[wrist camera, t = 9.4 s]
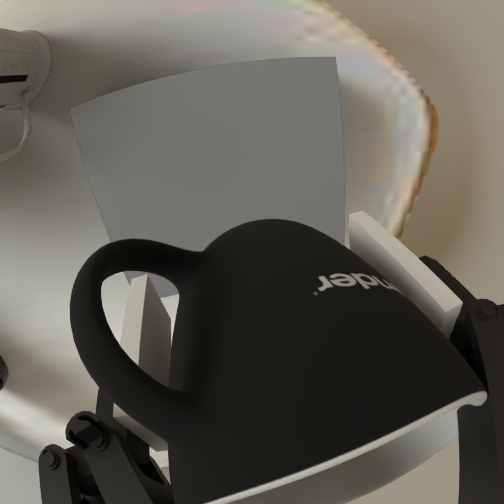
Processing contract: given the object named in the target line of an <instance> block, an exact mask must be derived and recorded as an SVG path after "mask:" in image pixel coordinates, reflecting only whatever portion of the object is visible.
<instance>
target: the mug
mask: <svg viewBox="0 0 504 504" xmlns="http://www.w3.org/2000/svg"><path fill="white" fill-rule="evenodd" d="M123 271H140V272H147V273H152V274H156V275H159V276H161V277H164V278H165V279H167V280H169V281H170V282H171V283H173V285H174V286H175V287H176V288H177V290H178V292H179V304H178V309H177V314H176V320H175V326H174V332H173V339H172V347H171V357H170V370H169V386H168V387H166V386H164V385H163V384H161V383H159V382H157V381H156V380H155V379H153V378H152V377H151V376H150V375H148V374H147V373H146V372H144V371H143V370H142V369H141V368H140V367H139V366H138V365H137V364H136V363H135V362H134V361H133V360H132V359H131V358H130V357H129V356H128V355H127V353H126V352H125V351H124V350H123V349H122V347H121V346H120V345H119V343H118V341H117V340H116V338H115V337H114V335H113V333H112V331H111V329H110V327H109V325H108V323H107V320H106V317H105V314H104V310H103V306H102V299H101V286H102V282H103V281H104V280H105V279H106V278H108V277H109V276H111V275H113V274H115V273H119V272H123ZM70 322H71V328H72V333H73V338H74V342H75V345H76V347H77V350H78V353H79V355H80V358H81V360H82V362H83V364H84V365H85V367H86V369H87V371H88V372H89V374H90V376H91V377H92V378H93V380H94V381H95V382H96V384H97V385H98V386H99V388H100V389H101V390H102V391H103V392H104V393H105V394H106V395H107V396H108V397H109V398H110V399H111V400H112V401H113V402H114V403H115V404H116V405H117V406H118V407H119V408H120V409H121V410H123V411H124V412H125V413H126V414H127V415H129V416H130V417H131V418H133V419H134V420H135V421H137V422H138V423H139V424H141V425H142V426H144V427H145V428H147V429H148V430H150V431H151V432H153V433H154V434H156V435H157V436H159V437H160V438H162V439H163V440H165V441H166V442H167V443H168V458H169V472H170V482H171V489H172V496H173V502H174V504H345V503H348V502H350V501H352V500H355V499H357V498H359V497H362V496H364V495H366V494H368V493H370V492H373V491H375V490H377V489H379V488H381V487H383V486H385V485H386V484H388V483H390V482H392V481H394V480H395V479H398V478H399V477H401V476H403V475H404V474H406V473H408V472H409V471H411V470H413V469H414V468H416V467H417V466H419V465H420V464H422V463H423V462H425V461H426V460H427V459H429V458H430V457H432V456H433V455H434V454H436V453H437V452H438V451H440V450H441V449H442V448H444V447H445V446H446V445H447V444H448V443H450V442H451V441H452V440H453V439H454V438H455V437H457V436H458V435H459V433H458V419H457V410H458V409H459V408H460V407H461V406H463V405H465V404H472V405H474V406H481V405H482V404H483V403H484V402H485V400H486V399H487V392H486V389H485V387H484V386H483V384H482V382H481V381H480V379H479V378H478V377H477V375H476V374H475V372H474V371H473V369H472V368H471V367H470V365H469V364H468V363H467V361H466V360H465V359H464V358H463V356H462V355H461V354H460V353H459V352H458V350H457V349H456V348H455V347H454V346H453V345H452V343H451V342H450V341H449V340H448V339H447V338H446V337H445V336H444V334H443V333H442V332H441V331H440V330H439V329H438V328H437V327H436V326H435V325H434V324H433V323H432V322H431V321H430V320H429V319H428V318H427V316H426V315H425V314H424V313H423V312H422V311H421V310H420V309H419V308H418V307H417V306H415V305H414V304H413V303H412V302H411V301H410V300H409V299H408V298H407V297H406V296H405V295H404V294H403V293H402V292H401V291H400V290H398V289H397V288H396V287H395V286H394V285H393V284H392V283H391V282H389V281H388V280H387V279H386V278H385V277H384V276H383V275H381V274H380V273H379V272H378V271H377V270H375V269H374V268H373V267H372V266H371V265H369V264H368V263H367V262H365V261H364V260H363V259H362V258H360V257H359V256H357V255H356V254H355V253H353V252H352V251H351V250H349V249H348V248H346V247H345V246H344V245H342V244H341V243H339V242H338V241H336V240H335V239H333V238H331V237H330V236H328V235H326V234H324V233H322V232H320V231H319V230H317V229H315V228H313V227H310V226H308V225H305V224H302V223H299V222H295V221H291V220H284V219H261V220H255V221H250V222H246V223H243V224H240V225H238V226H236V227H233V228H231V229H230V230H228V231H226V232H224V233H223V234H221V235H220V236H218V237H217V238H216V239H215V240H214V241H212V242H211V243H210V244H209V245H208V246H207V247H206V248H205V249H204V251H191V250H186V249H182V248H179V247H175V246H172V245H169V244H165V243H162V242H158V241H153V240H147V239H132V238H131V239H123V240H118V241H114V242H111V243H108V244H106V245H105V246H103V247H101V248H99V249H98V250H97V251H96V252H95V253H93V254H92V255H91V256H90V257H89V258H88V259H87V261H86V262H85V263H84V265H83V266H82V268H81V269H80V271H79V273H78V275H77V277H76V280H75V282H74V285H73V289H72V294H71V300H70Z"/></svg>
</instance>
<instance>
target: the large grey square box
mask: <svg viewBox="0 0 504 504" xmlns="http://www.w3.org/2000/svg"><path fill="white" fill-rule="evenodd" d="M69 109H70V113H71V118H72V122H73V126H74V130H75V134H76V137H77V141H78V145H79V148H80V152H81V155H82V159H83V162H84V165H85V169H86V172H87V175H88V178H89V181H90V185H91V188H92V191H93V194H94V197H95V199H96V202H97V205H98V208H99V211H100V214H101V216H102V219H103V222H104V224H105V227H106V230H107V232H108V235H109V237H110V240H111V242H114V241H118V240H123V239H131V238H132V239H147V240H153V241H158V242H162V243H165V244H169V245H172V246H175V247H179V248H182V249H186V250H191V251H204V249H205V248H206V247H207V246H208V245H209V244H210V243H211V242H212V241H214V240H215V239H216V238H217V237H218V236H220V235H221V234H223V233H224V232H226V231H228V230H230V229H231V228H233V227H236V226H238V225H240V224H243V223H246V222H250V221H255V220H261V219H284V220H291V221H295V222H299V223H302V224H305V225H308V226H310V227H313V228H315V229H317V230H319V231H320V232H322V233H324V234H326V235H328V236H330V237H331V238H333V239H335V240H336V241H338V242H339V243H341V244H342V245H344V226H345V193H344V155H343V135H342V119H341V106H340V94H339V84H338V74H337V65H336V57H299V58H282V59H270V60H259V61H250V62H242V63H235V64H228V65H221V66H215V67H210V68H204V69H199V70H194V71H189V72H184V73H180V74H175V75H171V76H167V77H163V78H159V79H155V80H151V81H147V82H144V83H140V84H137V85H133V86H130V87H127V88H123V89H120V90H117V91H114V92H111V93H108V94H105V95H102V96H100V97H97V98H94V99H91V100H89V101H86V102H83V103H81V104H78V105H76V106H73V107H71V108H69ZM124 274H125V276H126V278H127V280H128V283H129V285H131V280H132V279H133V278H136V277H139V276H143V275H146V274H148V276H149V278H150V280H151V282H152V284H153V286H154V288H155V290H156V292H157V294H158V296H159V298H162V297H167V296H171V295H176V294H179V292H178V290H177V288H176V287H175V286H174V285H173V283H171V282H170V281H169V280H167V279H165V278H164V277H161V276H159V275H156V274H152V273H147V272H140V271H124Z"/></svg>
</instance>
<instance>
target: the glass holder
mask: <svg viewBox="0 0 504 504" xmlns="http://www.w3.org/2000/svg"><path fill="white" fill-rule="evenodd" d="M51 55H52V54H51V48H50V45H49V43H48V41H47V39H46V38H45V37H44V36H43V35H42V34H40V33H39V32H36V31H22V32H17V31H12V30H7V29H2V28H0V109H1V108H3V109H7V110H14V109H18V108H21V109H22V114H23V121H24V134H23V138H22V141H21V143H20V144H19V145H18V146H17V147H16V148H14V149H13V150H11V151H8V152H5V153H0V162H3V161H6V160H9V159H10V158H12V157H13V156H15V155H16V154H18V153H19V151H20V150H21V149H22V148H23V146H24V145H25V144H26V142H27V140H28V137H29V135H30V131H31V120H30V114H29V108H28V103H29V102H31V101H32V100H33V99H34V98H35V97H36V96H37V95H38V93H39V92H40V91H41V89H42V88H43V86H44V84H45V82H46V80H47V78H48V75H49V72H50V68H51Z"/></svg>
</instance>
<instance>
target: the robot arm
mask: <svg viewBox="0 0 504 504" xmlns="http://www.w3.org/2000/svg"><path fill="white" fill-rule="evenodd" d="M349 234H350V250H351V251H352V252H353V253H355V254H356V255H357V256H359V257H360V258H362V259H363V260H364V261H365V262H367V263H368V264H369V265H371V266H372V267H373V268H374V269H375V270H377V271H378V272H379V273H380V274H381V275H383V276H384V277H385V278H386V279H387V280H388V281H389V282H391V283H392V284H393V285H394V286H395V287H396V288H397V289H398V290H400V291H401V292H402V293H403V294H404V295H405V296H406V297H407V298H408V299H409V300H410V301H411V302H412V303H413V304H414V305H415V306H417V307H418V308H419V309H420V310H421V311H422V312H423V313H424V314H425V315H426V316H427V318H428V319H429V320H430V321H431V322H432V323H433V324H434V325H435V326H436V327H437V328H438V329H439V330H440V331H441V332H442V333H443V334H444V336H445V337H446V338H447V339H448V340H449V341H450V342H451V343H452V345H453V346H454V347H455V348H456V349H457V350H458V352H459V353H460V354H461V355H462V356H463V358H464V359H465V360H466V361H467V363H468V364H469V365H470V367H471V368H472V369H473V371H474V372H475V374H476V375H477V377H478V378H479V379H480V381H481V382H482V384H483V386H484V387H485V389H486V392H487V399H486V400H485V402H484V403H483V404H482V405H481V406H474V405H472V404H465V405H463V406H461V407H460V408H459V409H458V410H457V419H458V433H459V461H460V473H459V502H458V504H504V304H502V305H496V304H495V303H494V302H493V301H490V300H488V299H478V300H477V299H476V298H475V297H474V296H473V295H472V294H471V293H470V292H469V291H468V290H467V289H466V288H465V287H464V286H463V285H462V284H461V283H460V282H459V281H458V280H456V278H455V277H452V275H451V274H450V273H449V272H448V271H447V270H445V268H444V267H443V266H442V265H441V264H439V263H438V262H437V261H436V260H434V259H432V258H430V257H427V256H423V257H420V258H417V257H416V256H415V255H414V254H413V253H412V252H410V250H409V249H407V248H406V247H405V246H404V245H403V244H402V243H401V242H400V241H398V240H397V239H396V238H395V237H394V236H393V235H392V234H391V233H389V232H388V231H387V230H386V229H385V228H384V227H382V226H381V225H380V224H379V223H378V222H377V221H375V220H374V219H373V218H372V217H371V216H369V215H368V214H367V213H366V212H364V211H359V212H356V213H352V214H349ZM120 346H121V347H122V349H123V350H124V351H125V352H126V353H127V355H128V356H129V357H130V358H131V359H132V360H133V361H134V362H135V363H136V364H137V365H138V366H139V367H140V368H141V369H142V370H143V371H144V372H146V373H147V374H148V375H150V376H151V377H152V378H153V379H155V380H156V381H157V382H159V383H161V384H163V385H164V386H166V387H168V386H169V370H170V357H171V318H170V317H169V315H168V313H167V311H166V309H165V307H164V305H163V303H162V302H161V300H160V298H159V296H158V294H157V292H156V290H155V288H154V286H153V284H152V282H151V280H150V278H149V276H148V274H146V275H143V276H139V277H136V278H133V279H132V280H131V285H130V290H129V295H128V301H127V306H126V312H125V318H124V324H123V330H122V337H121V344H120ZM7 377H8V371H7V368H6V365H5V363H4V362H3V360H2V359H1V357H0V390H1V389H2V388H3V387H4V385H5V382H6V379H7ZM65 433H66V439H67V440H68V441H70V442H71V443H73V444H74V445H75V446H72V447H70V448H67V449H63V448H61V447H60V446H58V445H56V444H50V445H48V446H46V447H45V448H44V449H43V450H42V452H41V454H40V456H39V477H40V488H41V497H42V504H174V502H173V496H172V489H171V485H170V484H169V482H168V480H167V479H166V477H165V476H164V475H163V473H162V471H161V470H160V468H159V466H158V465H157V463H156V462H155V460H154V459H153V458H152V457H151V456H150V453H149V446H150V447H151V448H153V449H154V450H155V451H166V450H168V443H167V442H166V441H165V440H163V439H162V438H160V437H159V436H157V435H156V434H154V433H153V432H151V431H150V430H148V429H147V428H145V427H144V426H142V425H141V424H139V423H138V422H137V421H135V420H134V419H133V418H131V417H130V416H129V415H127V414H126V413H125V412H124V411H123V410H121V409H120V408H119V407H118V406H117V405H116V404H115V403H114V402H113V401H112V400H111V399H110V398H109V397H108V396H107V395H106V394H105V393H104V392H103V391H102V390H101V389H100V388H99V390H98V398H97V406H96V415H95V414H94V413H92V412H90V411H82V412H80V413H77V414H76V415H74V416H73V417H72V418H71V419H70V421H69V423H68V424H67V427H66V432H65Z"/></svg>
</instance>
